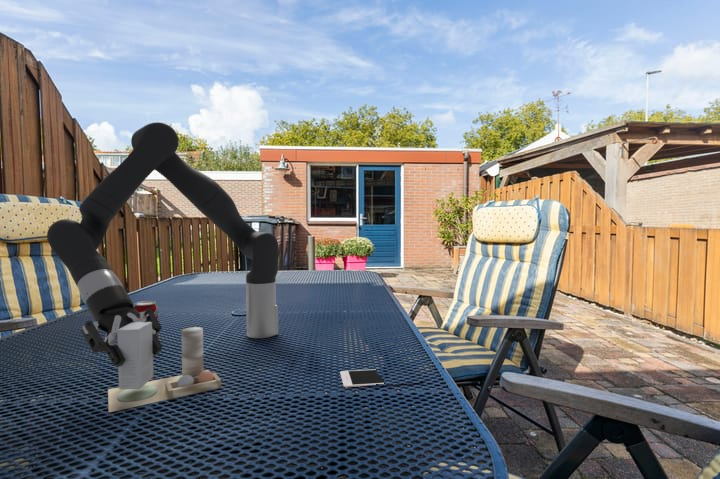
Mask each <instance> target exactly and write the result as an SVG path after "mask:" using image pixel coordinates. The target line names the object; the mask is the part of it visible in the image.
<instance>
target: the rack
mask: <svg viewBox="0 0 720 479" xmlns="http://www.w3.org/2000/svg"><path fill="white" fill-rule="evenodd" d="M180 333H181V370H182V371H181V375H175V376H168V377H165V378H160V379H154V380H149V381H148V382H147V383H146V384H145V385H144V386H143V387H141V388H140V389H121V390H120V389H119V386H118V387H114V388H108V389H107V394H108V395H107V397H108V398H107V399H108V400H107V401H108V403H107V404H108V405H107V406H108V413H114V412H117V411H118V412H119V411H123V410H127V409H131V408H135V407H136V408H137V407H141V406H145V405H149V404H153V403H158V402H162V401H167V400H168V401H169V400H172V399H173V400H174V399H176V398H180V397H186V396H189V395H194V394H198V393H205V392H207V391H212V390H217V389H221V388H222V379H221V378H220V377H219V376H218V374H217V373H216V372H211V373H212V374H213V376H214V380H212V381H207V382H202V383H198V376H199V375H200V373H202V372H204V371H210V370H209V369H207V370H204V329H203V327H199V326H198V327H195V326H192V327H188V328H187V327H186V328H183V329H182V330H181V332H180ZM183 375H190V376H192V377H193V379H194V384H193V385H188V386H183V387H178V386H177V382H178V379H179V378H180V377H181V376H183Z"/></svg>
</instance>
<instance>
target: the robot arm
mask: <svg viewBox="0 0 720 479" xmlns="http://www.w3.org/2000/svg"><path fill="white" fill-rule="evenodd" d="M179 140H180V139H179V136H178V134H177V132H176V130H175V129H174V128H173V127H172V126H171V125H169V124H167V123H165V122H160V121H155V122H150V123H147V124H145V125H144V126H142V127H140V128H138V130H136V131H135V132H134V133H133V134H132V136H131V140H130V141H131V147H132V150H131V152H130V153H129V154H128V156H127V157H125V159H124V160H123V161H122V162H121V163H120V164H119V165H118V166H117V167H116V168H114V169H113V171H111V172H110V173H109V174H107V176H106V177H104V178H103V179H102V180H101V181H100V182H99V183H98V184H97V185H96V186H95V188H94V189H93V190H92V191H91V192H89V194H88V195H87V196H86V197H85V199H83V201H82V202H81V204H80V206H79V208H78V210H79V213H80V214H81V220H80V222H78V221H76V220H74V219H69V218H67V219H66V218H64V219H59V220H57V221H55V222H54V223H52V224H51V225H50V226H49V227H48V230H47V232H46V240H47V243H48V244H49V247H50V248H51V249H52V251H53V252H54V254H55V255H56V256H57V257H58V259H59V260H60V261H61V262H62V263H63V264H64V265H65V267H66V268H67V270H68V271H69V273H70V276H71V278H72V280H73V282H74V283H75V285H76V287H77V289H78V291H79V294H80V297H81V299H82V301H83V302H84V304H85V306H86V308H87V310H88V312H89V314H90V316H91V317H92V319H93V321H92V320H87V321H85V323H84V324H83V326H82V328H81V329H80V332H81V334H82V335H83V337H84V339H85V341H86V343H87V344H88V346H89V347H90V350H91V351H92V352H93V353H95V354H96V353H99V352H104V353H106V354H107V357H108V358H109V360H110V362H111V363H112V365H114V366H116V367H117V368H118V367H119V366H122V365H123V364H124V362H125V358H124V356H123V354H122V352H121V351H120V349H119V347H118V344H116V341H117V330H118V329H120V328H122V327H124V326H126V325H128V324H130V323H131V322H152V342H153V356H157V355H159V354H160V352H161V351H162V348H163V344H162V343H161V341H160V340H159V337H158V338H157V335H158V336H159V334H160V332H161V331H162V329H163V326H162V325H161V323H160V321H159V319H158V320H157V318H156V316H155V314H154V313H153V311H152V309H149V308H148V309H147V310H146V311H145V312H138V311H136V310H135V309H134V307H135V306H134V303H133V300H132V298H131V297H130V295H129V294H128V292H127V290H126V289H125V287H124V285H123V284H122V282H121V280H120V279H119V277H118V276H117V275H116V274H115V273H114V272H113V270H112V268H111V266H110V264H109V262H108V261H107V260H106V259H105V257H104V256H103V255H102V254H101V253H100V252H99V251H98V249H99V247H100V246H101V244H102V242H103V240H104V238H105V236H106V234H107V231H108V229H109V226H110V223H111V222H112V221H113V219H114V218H115V217H116V216H117V215H118V213H119V212H120V211H121V210H122V209H123V207H124V206H125V204H127V202H128V201H129V200H130V198H131V197H132V196H133V195H134V193H135V192H136V191H137V190H138V188H139V187H140V186H142V183H143V182H144V181H145V180H146V179H147V178H148V177H149V176H150V175H151V173H152V172H154V171H156V172H158V173H159V174H160V175H161V176H162V177H164V178H165V179H166V180H167V181H169V183H170V184H172V186H174V187H175V188H176V189H177V190H178V192H180V194H182V195H183V196H184V197H185V198H186V199H187V200H188V201H189V202H190V203H191V204H192V205H193V206H194V207H195V208H196V209H197V210H198V211H199V212H200V213H201V214H202V215H204V216H205V217H206V218H208V220H209V221H210V222H212V224H214V225H215V226H216V227H217V228H218V229H219V230H221V231H222V232H223V233H224V235H226V236H227V237H228V238H229V239H230V241H231V242H233V244H235V246H236V247H237V249H239V251H240V252H241V253H242V254H243V255H244V256H245V257H246V258H248V259H249V260H252V261H251V262H252V264H251V269H250V271H249V272H247V273H246V275H245V292H246V297H245V299H246V304H245V305H246V306H245V307H246V308H245V309H246V312H245V313H246V337H248V338H251V339H265V338H271V337H274V336H276V335H279V306H278V304H277V301H276V300H277V297H276V295H277V294H276V293H277V292H276V290H277V289H276V287H277V286H276V284H277V281H276V278H277V275H278V272H279V254H280V251H279V250H280V248H279V247H280V246H279V242H278V239H277V237H276V236H275V235H274V234H273V233H270V232H267V231H266V232H262V231H261V232H259V231H257V230H255V229H254V228H253V227H252V226H251V225H250V224H248V223H247V222H246V221H245V220H244V219H243V217H242V216H241V214H240V212H239V210H238V207H237V205H236V203H235V201H234V200H233V199H232V197H231V195H229V193H228V192H226V191H225V190H224V188H223V187H221V186H220V184H219V183H218V182H216V181H215V180H214V179H212V178H211V177H209V176H208V175H206V174H204V173H203V172H201V171H200V170H197V169H195V168H194V167H192V166H191V165H189V164H188V163H187V162H185V161H184V159H182V158H181V157H180V156H179V155H178V153H177V152H176V151H177V150H178V147H179V145H180V144H179ZM140 319H142V320H140ZM98 330H100V331H102V332H104V333H105V338H104V339H103V338H102V336H101V334H100V332H99V331H98Z"/></svg>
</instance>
